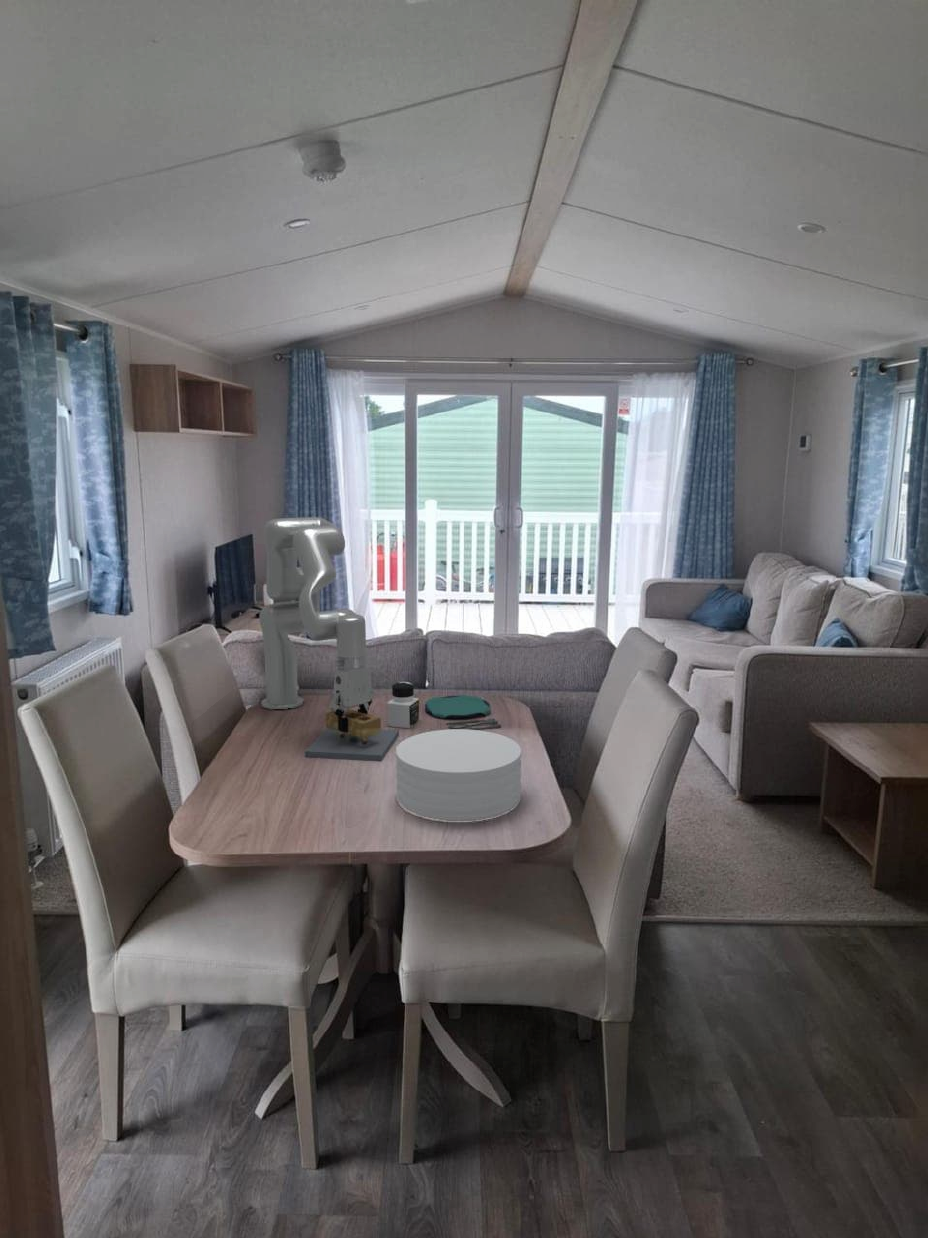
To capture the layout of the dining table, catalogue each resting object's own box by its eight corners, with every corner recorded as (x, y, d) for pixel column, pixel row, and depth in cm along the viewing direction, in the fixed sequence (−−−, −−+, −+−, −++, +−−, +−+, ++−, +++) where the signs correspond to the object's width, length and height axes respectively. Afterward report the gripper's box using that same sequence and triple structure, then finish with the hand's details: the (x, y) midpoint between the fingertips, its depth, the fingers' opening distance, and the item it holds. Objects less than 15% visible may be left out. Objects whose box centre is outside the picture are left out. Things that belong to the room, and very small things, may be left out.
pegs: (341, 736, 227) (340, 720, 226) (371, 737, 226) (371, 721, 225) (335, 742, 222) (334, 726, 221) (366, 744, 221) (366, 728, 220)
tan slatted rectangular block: (326, 727, 225) (325, 713, 225) (344, 721, 230) (343, 707, 229) (363, 738, 217) (363, 723, 216) (380, 732, 222) (380, 717, 221)
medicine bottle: (410, 729, 238) (409, 688, 236) (386, 726, 240) (386, 685, 238) (419, 721, 245) (419, 681, 242) (396, 719, 247) (396, 679, 245)
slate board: (328, 731, 235) (328, 726, 235) (398, 735, 233) (398, 730, 232) (305, 756, 216) (304, 751, 216) (381, 761, 213) (381, 755, 213)
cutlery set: (480, 699, 268) (480, 692, 267) (508, 730, 239) (508, 722, 239) (418, 704, 263) (418, 697, 262) (439, 736, 234) (439, 728, 234)
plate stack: (370, 800, 190) (369, 751, 187) (451, 765, 211) (451, 721, 209) (466, 836, 172) (466, 783, 170) (544, 794, 193) (545, 746, 191)
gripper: (336, 671, 211) (338, 739, 215) (385, 658, 224) (386, 722, 228) (316, 666, 216) (318, 733, 219) (365, 653, 229) (366, 717, 232)
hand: (353, 727), depth 223 cm, fingers closed on tan slatted rectangular block, 6 cm apart
